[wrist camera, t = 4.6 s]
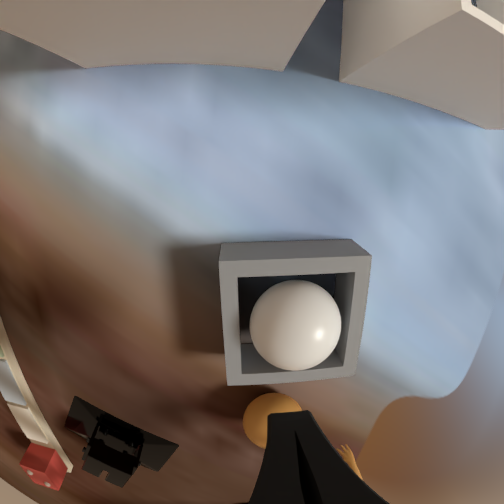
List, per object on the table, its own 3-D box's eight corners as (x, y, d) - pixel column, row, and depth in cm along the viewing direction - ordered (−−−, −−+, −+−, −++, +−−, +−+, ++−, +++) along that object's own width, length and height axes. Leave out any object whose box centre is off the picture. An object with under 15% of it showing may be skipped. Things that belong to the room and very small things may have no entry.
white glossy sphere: (325, 336, 19) (346, 383, 14) (248, 341, 19) (252, 392, 14) (330, 264, 17) (359, 301, 13) (246, 268, 17) (250, 307, 13)
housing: (340, 347, 20) (354, 375, 17) (228, 354, 19) (227, 385, 16) (351, 239, 17) (371, 255, 15) (221, 243, 17) (218, 261, 14)
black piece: (51, 417, 22) (32, 451, 18) (63, 371, 20) (37, 408, 16) (169, 475, 24) (163, 513, 20) (202, 440, 23) (197, 484, 18)
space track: (74, 466, 23) (61, 497, 19) (48, 459, 23) (34, 488, 19) (-6, 293, 18) (-42, 321, 13) (-32, 292, 17) (-66, 316, 13)
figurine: (272, 349, 19) (303, 525, 8) (349, 374, 20) (413, 518, 9) (221, 428, 21) (219, 571, 10) (291, 445, 22) (314, 573, 11)
